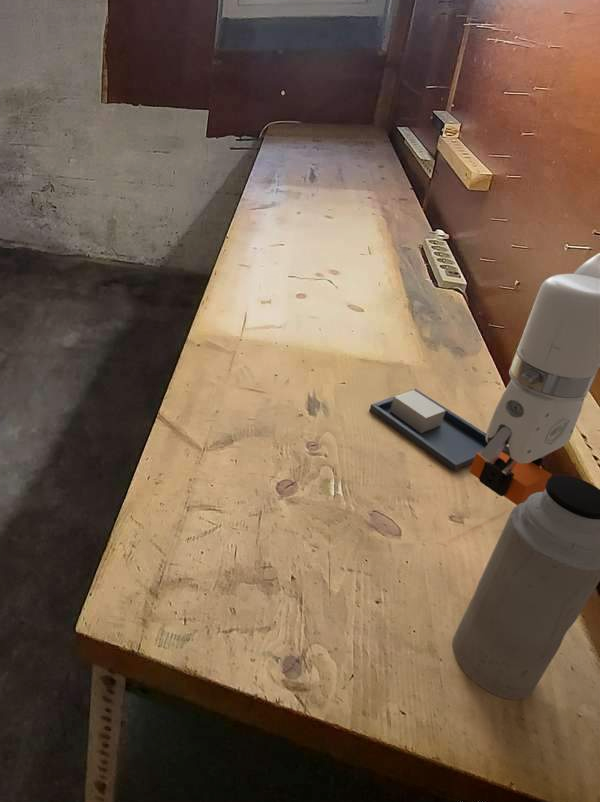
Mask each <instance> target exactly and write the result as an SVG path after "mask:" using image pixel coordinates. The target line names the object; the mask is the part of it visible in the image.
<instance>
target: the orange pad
mask: <svg viewBox="0 0 600 802" xmlns="http://www.w3.org/2000/svg"><path fill="white" fill-rule="evenodd" d="M481 452H482V451H481ZM481 452H479V453H476V456H475V458H474V461H473V464H471V467H470V469H469V473H470V474H472V475H473V476H474V477H476V478H477V479H479V477H480V475H481V472H482V470H483V467H484V464H485V459H483V458H482V457H480V453H481ZM499 458H501V459H502V460H504V461H505V463H507V461H508V459H509V458H510V456H508V455H506V454H505V453H503V452H501V453H500V454H499ZM511 472H512V473H513V474H514V476H513V479H512V481H511V483H510V486H509V488H508V491H507V493H506V495H504V496H503V497H504V498H506V499H507V500H508V501H510V502H512V503H513V504H514V505H515V506H517V505H518V504H521V503H524V502H525V501H526V500H527V499H528V497H529V496H530V495H532V494H534V493H537V492H544V490H545V489H546V488H545V486H546V483H547V481H548V479H549V478H550V477H552V476H553V474H552V473H551V472H549V471H547V470H546V469H544V468H543V467H542V466H541V467H539V466H537V465H536V464H534V463H533V462H529V463H524V464H521V463H518V462H517V463H516V465H515V466H514V468H513V470H512V471H511Z"/></svg>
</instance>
